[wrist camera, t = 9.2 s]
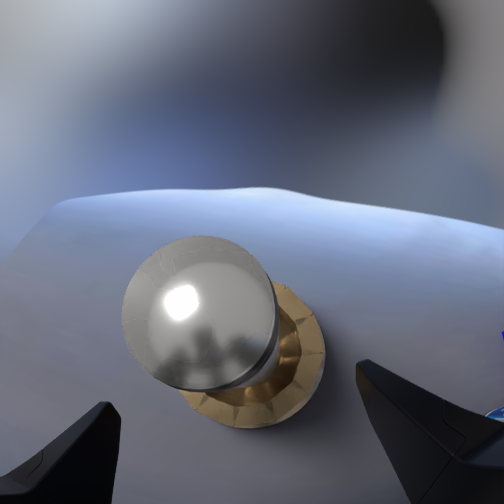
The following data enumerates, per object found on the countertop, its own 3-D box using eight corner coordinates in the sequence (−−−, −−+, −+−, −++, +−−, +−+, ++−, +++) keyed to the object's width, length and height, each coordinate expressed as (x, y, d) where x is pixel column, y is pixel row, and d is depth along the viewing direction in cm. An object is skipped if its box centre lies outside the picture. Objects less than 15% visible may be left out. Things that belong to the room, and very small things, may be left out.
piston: (292, 374, 17) (305, 359, 6) (226, 397, 17) (138, 408, 6) (268, 313, 19) (245, 212, 9) (205, 334, 19) (111, 263, 8)
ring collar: (352, 358, 18) (366, 352, 15) (240, 452, 16) (230, 465, 13) (257, 261, 22) (252, 238, 19) (155, 344, 20) (132, 335, 17)
